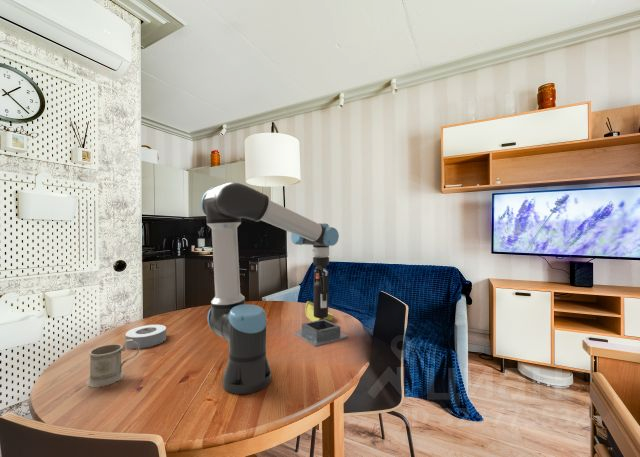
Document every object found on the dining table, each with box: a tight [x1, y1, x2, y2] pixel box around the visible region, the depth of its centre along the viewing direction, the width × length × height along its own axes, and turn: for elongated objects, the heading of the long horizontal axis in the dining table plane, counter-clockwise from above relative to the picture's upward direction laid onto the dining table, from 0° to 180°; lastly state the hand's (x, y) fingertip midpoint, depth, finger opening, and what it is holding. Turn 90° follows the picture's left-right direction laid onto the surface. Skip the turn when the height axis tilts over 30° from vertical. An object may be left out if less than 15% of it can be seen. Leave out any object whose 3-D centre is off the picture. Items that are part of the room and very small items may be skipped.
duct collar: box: [294, 318, 349, 347], centre depth 130 cm, size 18×18×5 cm
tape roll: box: [124, 324, 167, 349], centre depth 123 cm, size 15×15×5 cm
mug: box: [85, 339, 141, 388], centre depth 92 cm, size 14×10×12 cm
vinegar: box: [313, 273, 329, 319], centre depth 131 cm, size 7×7×20 cm
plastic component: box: [305, 300, 335, 322], centre depth 158 cm, size 20×7×10 cm
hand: (320, 305), depth 131 cm, fingers closed on vinegar, 6 cm apart
